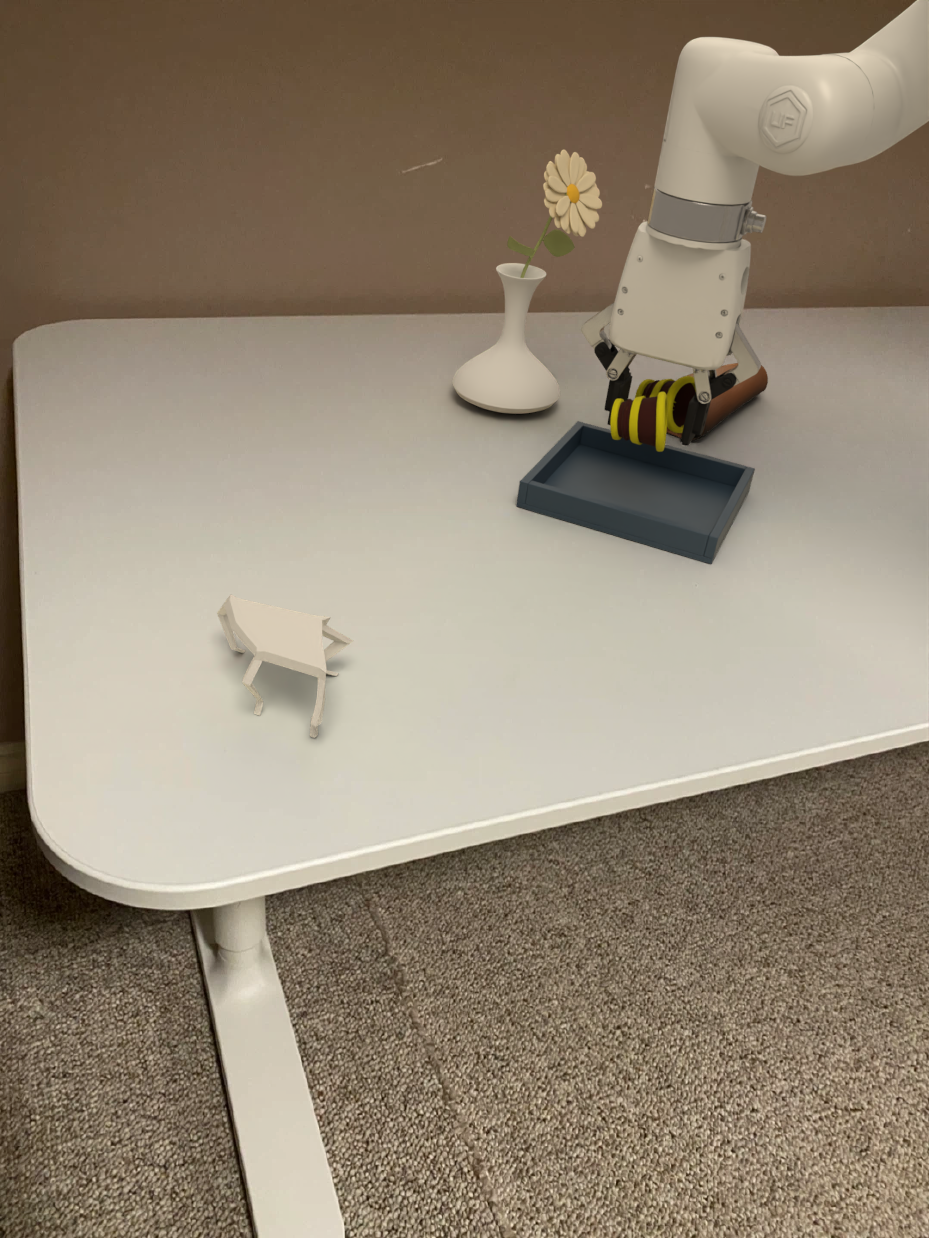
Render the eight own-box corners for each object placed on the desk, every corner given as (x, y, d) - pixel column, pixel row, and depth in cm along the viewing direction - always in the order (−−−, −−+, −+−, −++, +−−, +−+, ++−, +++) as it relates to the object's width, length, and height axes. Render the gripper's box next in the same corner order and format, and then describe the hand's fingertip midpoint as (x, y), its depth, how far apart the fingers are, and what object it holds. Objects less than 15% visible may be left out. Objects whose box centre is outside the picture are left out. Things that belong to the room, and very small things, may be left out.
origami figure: (388, 686, 72) (392, 626, 69) (311, 754, 66) (313, 690, 63) (246, 622, 76) (245, 563, 74) (162, 679, 70) (158, 617, 67)
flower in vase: (478, 428, 108) (509, 163, 94) (433, 384, 116) (456, 134, 102) (590, 418, 113) (636, 165, 99) (540, 376, 121) (576, 137, 107)
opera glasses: (649, 419, 100) (649, 365, 97) (703, 425, 97) (706, 370, 95) (604, 453, 93) (603, 396, 90) (662, 460, 90) (663, 402, 88)
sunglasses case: (696, 371, 126) (735, 331, 121) (737, 416, 126) (778, 377, 121) (628, 415, 113) (669, 373, 108) (673, 465, 113) (716, 424, 108)
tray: (748, 492, 102) (755, 468, 101) (711, 564, 90) (718, 538, 89) (573, 444, 107) (577, 420, 106) (515, 506, 95) (519, 481, 94)
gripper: (814, 230, 85) (756, 440, 95) (607, 188, 90) (573, 392, 100) (799, 250, 79) (739, 472, 89) (578, 204, 84) (544, 419, 94)
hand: (651, 428), depth 95 cm, fingers closed on opera glasses, 5 cm apart
